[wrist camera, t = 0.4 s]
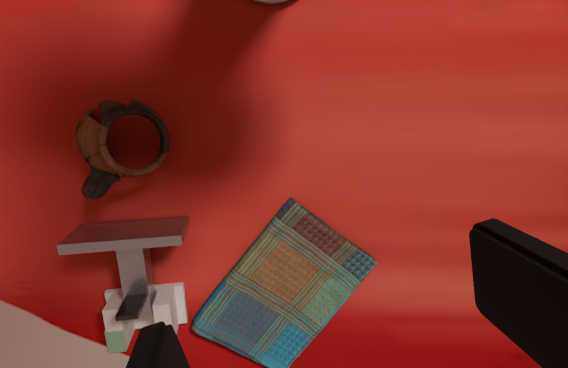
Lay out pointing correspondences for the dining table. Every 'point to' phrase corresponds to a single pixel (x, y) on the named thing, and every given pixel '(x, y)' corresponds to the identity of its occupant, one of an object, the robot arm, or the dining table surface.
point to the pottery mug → (96, 150)
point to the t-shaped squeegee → (129, 255)
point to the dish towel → (283, 288)
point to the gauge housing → (165, 309)
